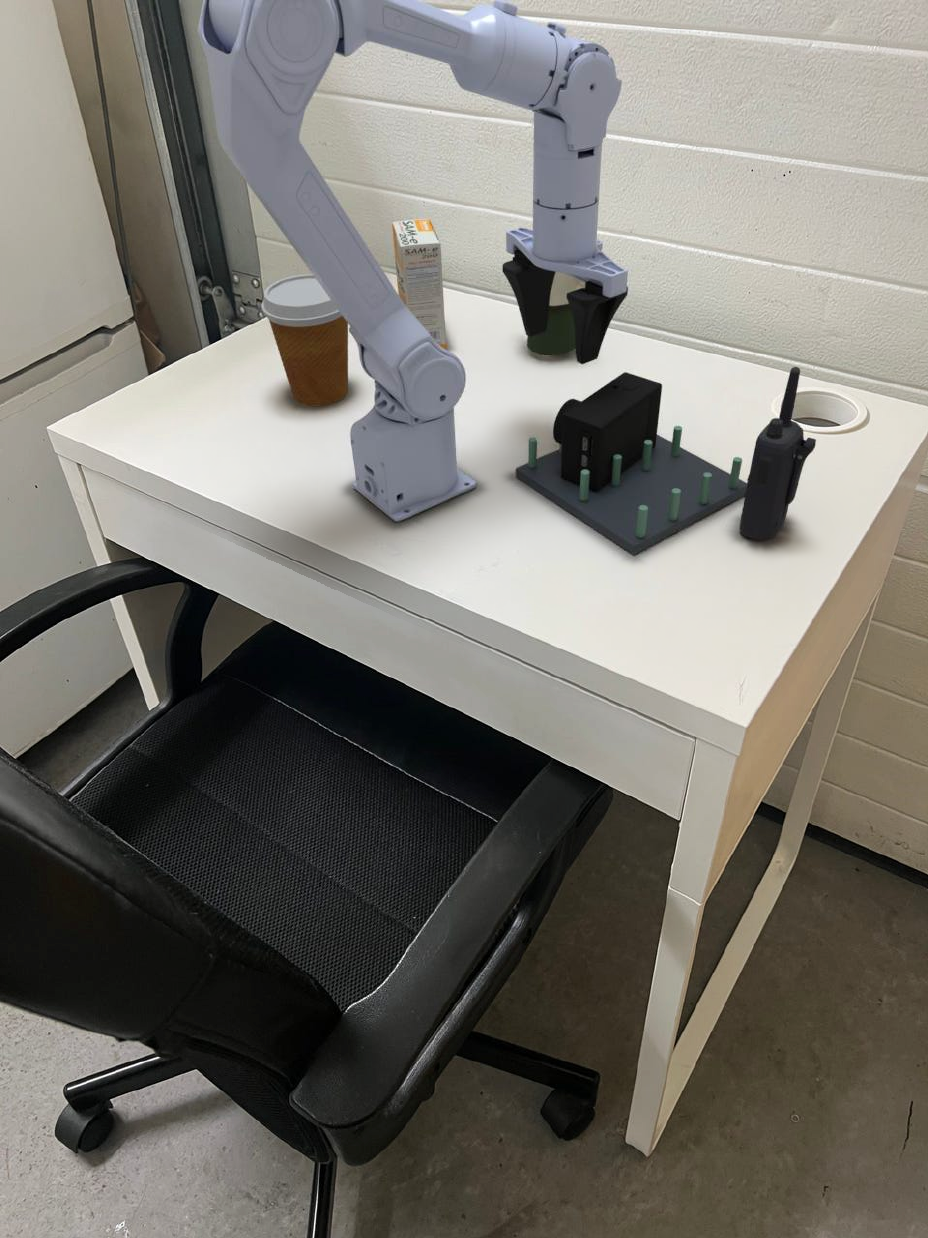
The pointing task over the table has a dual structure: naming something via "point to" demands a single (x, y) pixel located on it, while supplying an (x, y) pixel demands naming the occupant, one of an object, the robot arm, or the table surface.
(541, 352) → the character mug
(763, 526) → the two-way radio
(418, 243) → the supplement box
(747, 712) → the table surface
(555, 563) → the table surface
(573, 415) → the digital camera
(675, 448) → the rack
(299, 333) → the disposable coffee cup
